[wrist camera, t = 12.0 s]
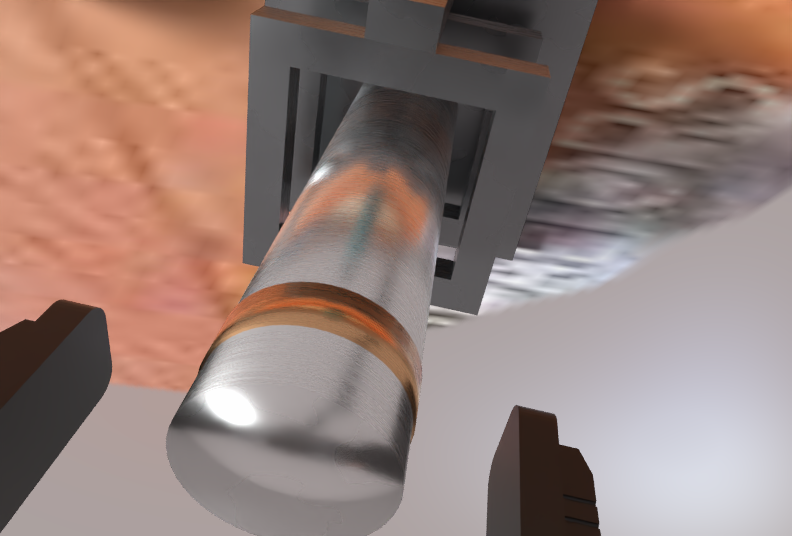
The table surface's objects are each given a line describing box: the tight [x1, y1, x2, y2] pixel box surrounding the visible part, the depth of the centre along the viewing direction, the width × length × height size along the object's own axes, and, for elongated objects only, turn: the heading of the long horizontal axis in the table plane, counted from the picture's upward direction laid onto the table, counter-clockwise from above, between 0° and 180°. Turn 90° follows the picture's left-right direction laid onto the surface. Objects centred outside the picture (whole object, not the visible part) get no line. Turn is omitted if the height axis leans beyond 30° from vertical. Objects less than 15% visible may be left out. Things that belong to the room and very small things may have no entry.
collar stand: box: [243, 0, 598, 315], centre depth 23 cm, size 12×12×8 cm
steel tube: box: [166, 83, 458, 536], centre depth 18 cm, size 4×4×18 cm
